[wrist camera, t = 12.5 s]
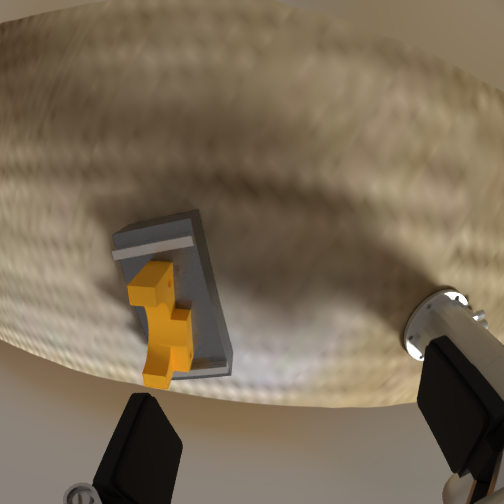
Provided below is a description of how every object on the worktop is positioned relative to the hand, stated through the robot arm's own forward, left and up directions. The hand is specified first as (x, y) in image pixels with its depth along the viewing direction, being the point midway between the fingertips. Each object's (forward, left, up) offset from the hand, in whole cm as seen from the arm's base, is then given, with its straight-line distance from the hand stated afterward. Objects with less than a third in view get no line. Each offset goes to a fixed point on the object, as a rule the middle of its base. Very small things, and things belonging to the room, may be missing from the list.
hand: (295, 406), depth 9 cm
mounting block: (+12, +7, -27) cm, 30 cm away
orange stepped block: (+12, +7, -22) cm, 26 cm away
